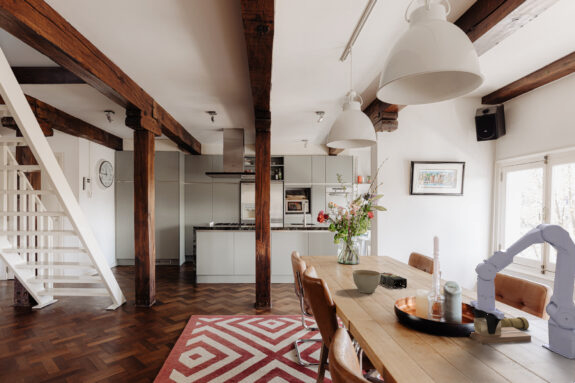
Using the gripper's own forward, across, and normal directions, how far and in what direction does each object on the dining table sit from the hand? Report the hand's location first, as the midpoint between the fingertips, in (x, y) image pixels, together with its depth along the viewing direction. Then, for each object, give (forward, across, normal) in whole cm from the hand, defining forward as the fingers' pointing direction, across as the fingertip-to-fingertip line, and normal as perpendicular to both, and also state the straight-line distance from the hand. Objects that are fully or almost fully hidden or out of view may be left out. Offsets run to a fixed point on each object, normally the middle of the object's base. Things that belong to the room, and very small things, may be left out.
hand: (486, 331), depth 115 cm
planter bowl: (+3, -66, -21) cm, 69 cm away
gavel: (+3, -16, +19) cm, 25 cm away
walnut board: (+3, 0, +5) cm, 5 cm away
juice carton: (+3, -79, 0) cm, 79 cm away
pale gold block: (+1, 0, 0) cm, 1 cm away
